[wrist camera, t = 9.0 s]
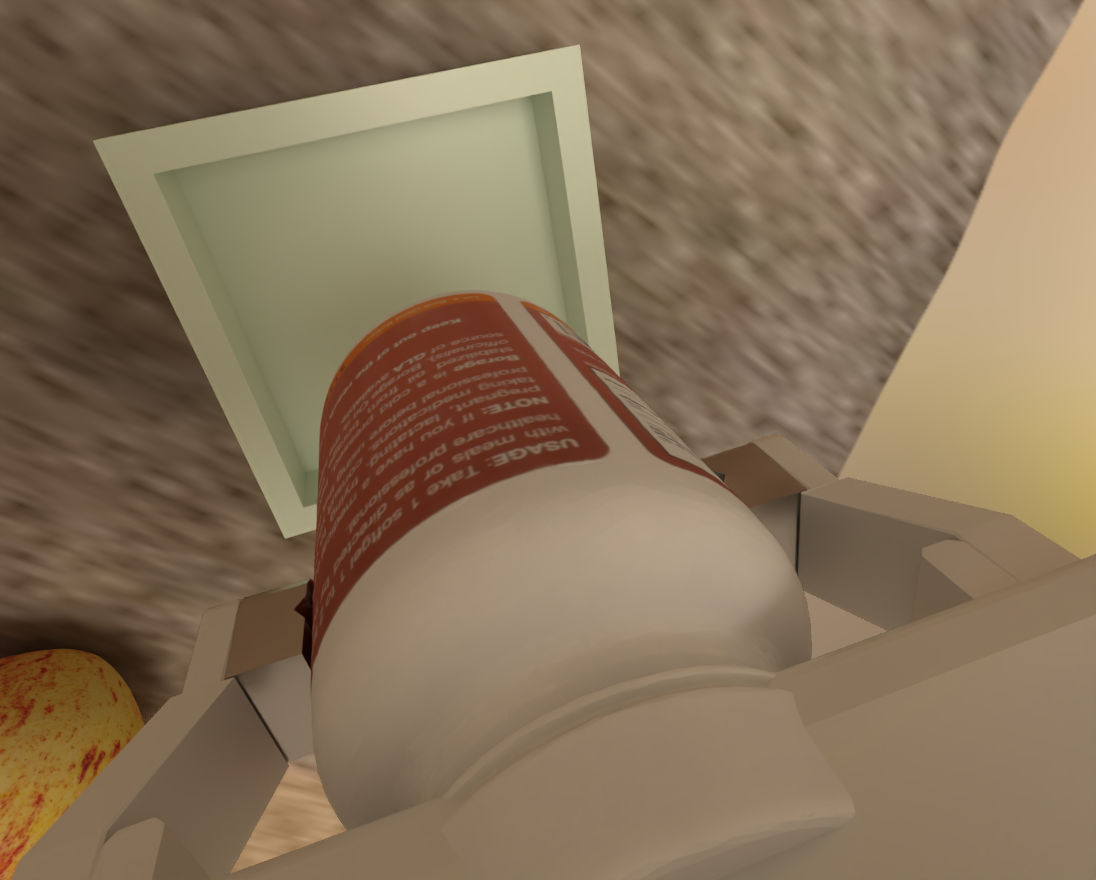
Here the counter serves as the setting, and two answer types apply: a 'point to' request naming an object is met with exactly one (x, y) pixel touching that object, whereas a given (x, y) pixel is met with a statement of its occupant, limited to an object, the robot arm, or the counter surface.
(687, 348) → the counter surface
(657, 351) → the counter surface
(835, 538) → the robot arm
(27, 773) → the apple
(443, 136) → the tray
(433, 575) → the pill bottle
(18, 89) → the counter surface
